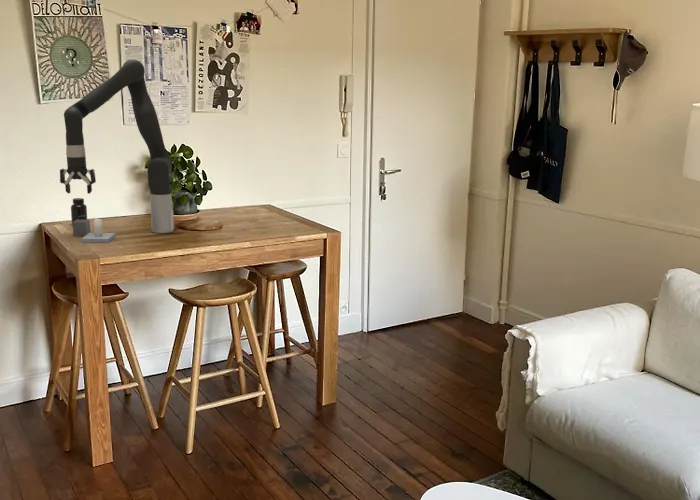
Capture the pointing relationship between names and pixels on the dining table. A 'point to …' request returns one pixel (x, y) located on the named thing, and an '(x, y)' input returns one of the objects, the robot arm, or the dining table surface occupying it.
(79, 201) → the supplement bottle
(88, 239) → the post base
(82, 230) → the block
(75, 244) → the dining table surface
